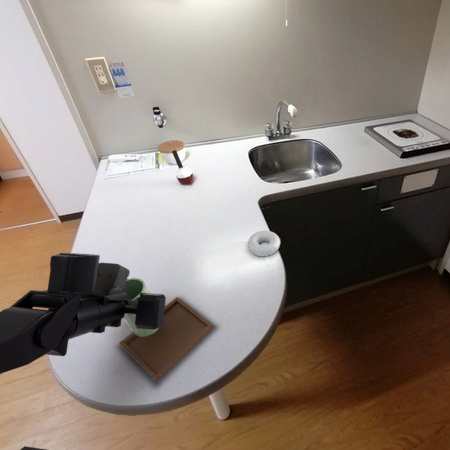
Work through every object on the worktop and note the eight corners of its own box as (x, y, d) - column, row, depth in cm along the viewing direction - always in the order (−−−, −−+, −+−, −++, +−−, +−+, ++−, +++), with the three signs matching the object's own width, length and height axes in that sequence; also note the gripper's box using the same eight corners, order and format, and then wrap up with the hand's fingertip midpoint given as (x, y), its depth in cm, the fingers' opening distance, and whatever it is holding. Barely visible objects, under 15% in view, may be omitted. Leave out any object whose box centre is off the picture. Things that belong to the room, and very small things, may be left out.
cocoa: (194, 186, 121) (186, 159, 113) (177, 189, 120) (169, 161, 112) (194, 174, 128) (187, 148, 120) (179, 176, 127) (171, 150, 119)
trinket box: (183, 153, 143) (178, 134, 137) (191, 162, 136) (186, 142, 130) (160, 160, 138) (153, 140, 132) (167, 169, 132) (160, 149, 125)
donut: (256, 233, 100) (242, 254, 92) (255, 225, 97) (241, 246, 90) (285, 240, 97) (273, 261, 90) (284, 232, 95) (272, 253, 88)
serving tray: (156, 383, 64) (154, 379, 63) (122, 346, 70) (119, 343, 69) (214, 328, 73) (212, 324, 72) (178, 300, 80) (177, 296, 78)
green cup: (135, 342, 66) (113, 309, 58) (129, 320, 70) (107, 287, 62) (166, 326, 68) (148, 293, 61) (158, 307, 72) (140, 273, 65)
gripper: (143, 270, 50) (186, 266, 66) (39, 262, 52) (104, 260, 67) (135, 340, 49) (181, 319, 65) (29, 330, 51) (98, 311, 66)
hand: (140, 301), depth 66 cm, fingers closed on green cup, 6 cm apart
